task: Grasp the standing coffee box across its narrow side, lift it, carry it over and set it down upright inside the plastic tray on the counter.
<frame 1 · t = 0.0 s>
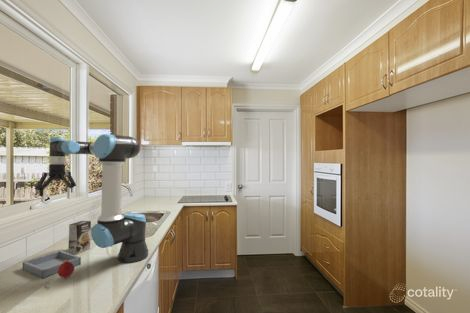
hand: (56, 200, 138), 28 cm above the counter, fingers open, 13 cm apart
coffee box: (79, 251, 134), on the counter
tray: (52, 267, 114), on the counter
onion: (65, 278, 104), on the counter
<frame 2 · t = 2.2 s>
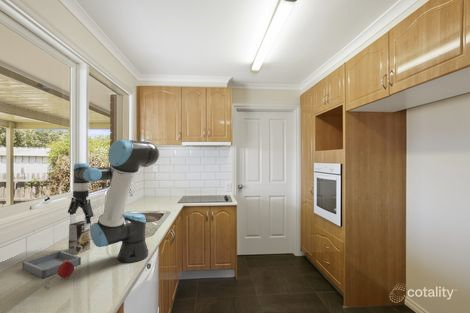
hand: (79, 227, 135), 13 cm above the counter, fingers open, 13 cm apart
nothing on the counter moved.
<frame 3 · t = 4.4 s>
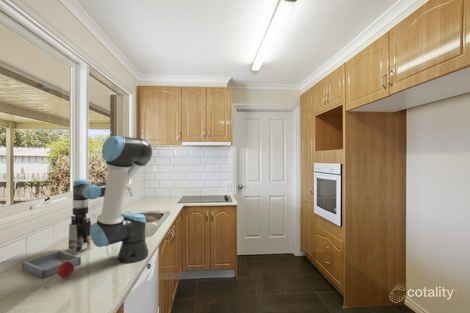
hand: (79, 247, 134), 2 cm above the counter, fingers closed on coffee box, 7 cm apart
coffee box: (79, 251, 134), on the counter, touching gripper
everything else where it was.
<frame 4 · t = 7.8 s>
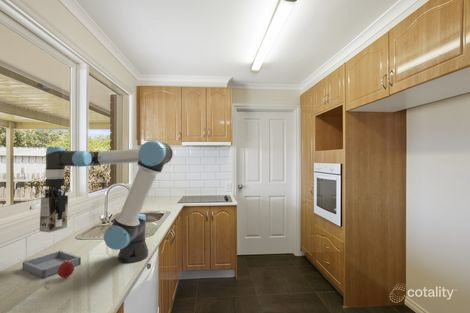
hand: (54, 225, 115), 20 cm above the counter, fingers closed on coffee box, 7 cm apart
coffee box: (53, 229, 115), point 18 cm above the counter, touching gripper
everything else where it was.
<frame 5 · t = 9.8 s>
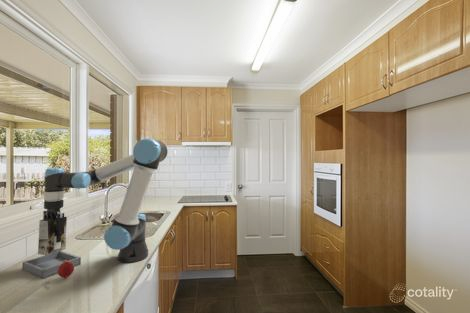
hand: (52, 247, 114), 10 cm above the counter, fingers closed on coffee box, 7 cm apart
coffee box: (52, 252, 114), point 7 cm above the counter, touching gripper
everything else where it was.
when the fingers open (4 cm above the counter, at t = 11.7 s): coffee box drops 1 cm, resting on tray.
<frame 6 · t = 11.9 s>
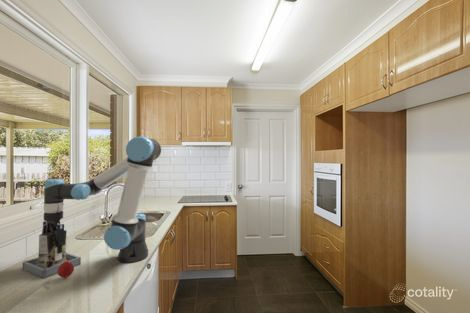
hand: (52, 257, 114), 5 cm above the counter, fingers open, 9 cm apart
coffee box: (52, 266, 114), resting on tray
everything else where it was.
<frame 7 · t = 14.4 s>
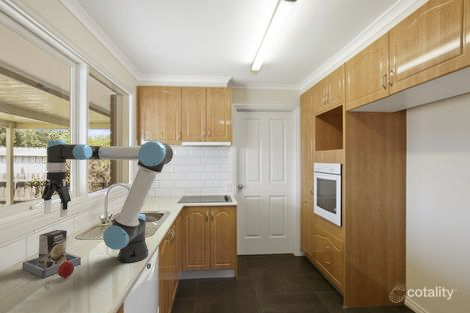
hand: (55, 214, 115), 25 cm above the counter, fingers open, 13 cm apart
nothing on the counter moved.
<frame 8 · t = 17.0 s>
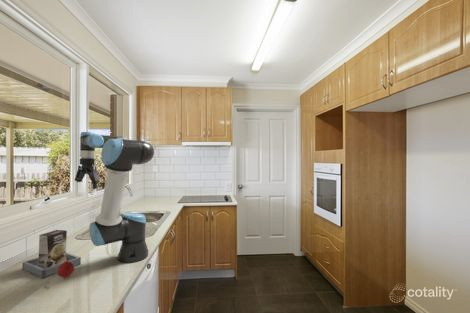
hand: (86, 193, 140), 32 cm above the counter, fingers open, 13 cm apart
nothing on the counter moved.
at the end: coffee box inside the target area on the tray (0.1 cm from its centre), point 0.4 cm above the tray's base; coffee box tilted 0°; the gripper is holding nothing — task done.
